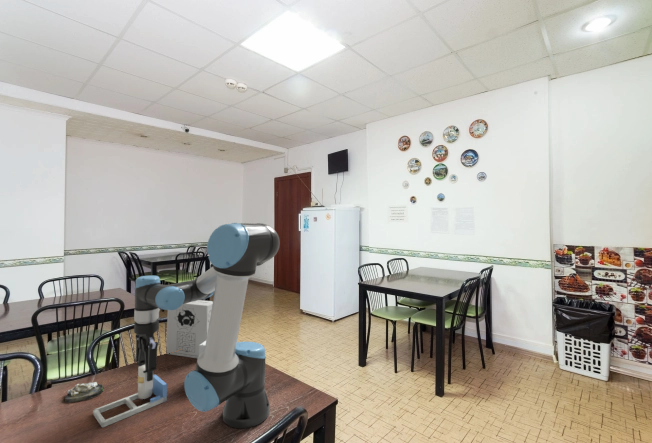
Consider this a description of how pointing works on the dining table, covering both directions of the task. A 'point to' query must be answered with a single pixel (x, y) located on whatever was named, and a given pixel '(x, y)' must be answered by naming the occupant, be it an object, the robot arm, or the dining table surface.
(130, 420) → the dining table surface
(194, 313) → the cereal box
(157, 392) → the grey slotted tray
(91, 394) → the grey lumpy oval piece
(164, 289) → the robot arm
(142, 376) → the white cylinder
